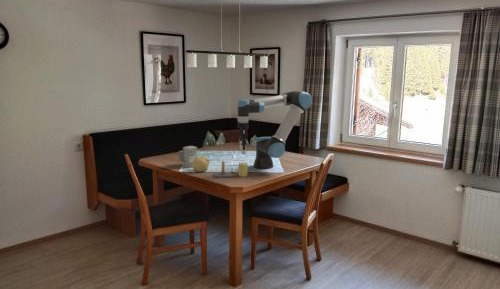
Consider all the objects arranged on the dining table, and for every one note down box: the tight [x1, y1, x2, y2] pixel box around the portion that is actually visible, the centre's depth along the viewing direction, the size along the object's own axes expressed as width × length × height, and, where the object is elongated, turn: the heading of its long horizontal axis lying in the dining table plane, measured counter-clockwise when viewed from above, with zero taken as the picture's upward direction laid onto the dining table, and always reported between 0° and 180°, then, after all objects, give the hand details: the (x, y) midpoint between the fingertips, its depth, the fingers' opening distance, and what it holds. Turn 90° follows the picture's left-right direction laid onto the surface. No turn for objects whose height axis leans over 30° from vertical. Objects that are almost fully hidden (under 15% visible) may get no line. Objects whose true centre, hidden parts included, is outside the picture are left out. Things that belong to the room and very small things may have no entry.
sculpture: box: [192, 156, 210, 173], centre depth 282 cm, size 12×12×11 cm
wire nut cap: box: [238, 162, 248, 177], centre depth 272 cm, size 6×6×8 cm
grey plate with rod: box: [214, 161, 233, 179], centre depth 270 cm, size 12×10×10 cm
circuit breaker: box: [178, 145, 198, 169], centre depth 296 cm, size 8×14×15 cm, turn 51°
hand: (242, 152), depth 269 cm, fingers open, 13 cm apart
